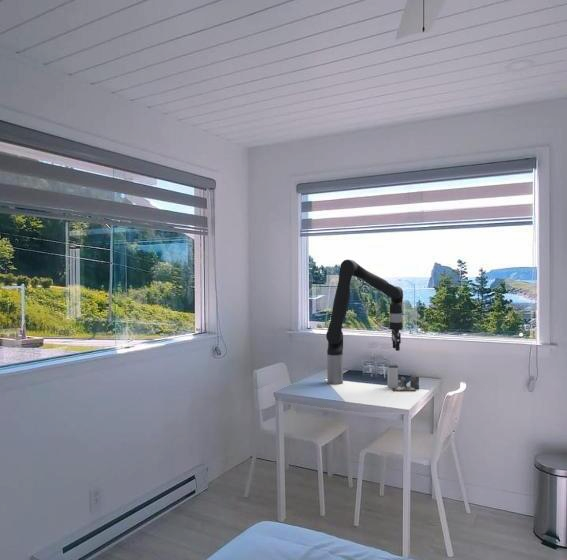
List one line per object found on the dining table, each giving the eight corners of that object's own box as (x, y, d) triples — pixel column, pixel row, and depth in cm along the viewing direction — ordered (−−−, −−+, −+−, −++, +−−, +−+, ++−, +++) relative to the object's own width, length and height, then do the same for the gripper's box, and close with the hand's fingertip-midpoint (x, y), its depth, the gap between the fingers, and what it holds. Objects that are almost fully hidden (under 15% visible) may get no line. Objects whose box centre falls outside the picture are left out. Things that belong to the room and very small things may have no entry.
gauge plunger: (405, 388, 271) (405, 381, 271) (401, 383, 283) (401, 376, 283) (407, 388, 271) (407, 381, 271) (403, 383, 283) (403, 376, 283)
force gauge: (389, 388, 276) (388, 365, 276) (387, 386, 281) (387, 364, 281) (401, 388, 276) (401, 365, 276) (399, 386, 281) (399, 364, 281)
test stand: (393, 391, 270) (393, 378, 270) (389, 385, 283) (389, 374, 283) (421, 391, 269) (421, 378, 269) (415, 385, 282) (415, 373, 282)
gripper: (387, 320, 286) (387, 347, 286) (391, 322, 271) (391, 351, 272) (399, 320, 285) (400, 347, 286) (405, 322, 271) (405, 351, 271)
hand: (396, 349), depth 279 cm, fingers open, 8 cm apart
